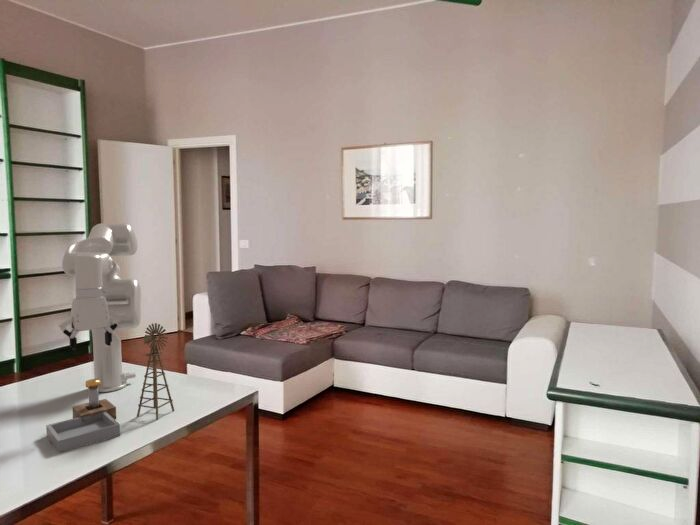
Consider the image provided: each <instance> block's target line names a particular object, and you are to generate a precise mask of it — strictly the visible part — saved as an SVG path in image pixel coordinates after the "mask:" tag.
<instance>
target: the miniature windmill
mask: <svg viewBox="0 0 700 525" xmlns="http://www.w3.org/2000/svg"><path fill="white" fill-rule="evenodd" d="M163 328H164V326H163V325H161V324H160V323H155V322H154V323H151V324H149V325H148V327H146V330H145V335H144V337H143V344H144V345H145V344H147V345H149V348H150V352H149V353H145V354H144V355H145V356H146V357H148V360H146V362H147V366H146V372H145V374H144V375H143V376H144V379H143V380H144V381H143V385H142V388H141V393H140V396H139V404H137V406H138V410H137V414H136V417H137V418H138V417H139V416H140V413H141V408H142V407H144V408H148V409H155V420H156V421H157V420H159V409H160V408H161V407H164V406H165V405H167V404H170V407H171V411H172V412H174V411H175V408H174V407H175V406H174V403H173V401H174V400H173V399H172V396H171V393H170V388H169V385H168V381H167V379H166V372H165V371H164V367H163V364H162V362H163V361H162V359H161V356H160V355H162V354H164V353H165V351H164V350H163V349H164V347H166V346H167V345H166V344H168V341H167V340H168V339H169V338H168V333H167V332H166V331H167V330H166V329H165V328H164V329H163ZM157 338H158V339H157ZM165 339H166V340H165ZM165 343H166V344H165ZM161 350H163V351H161ZM157 357H158V359H157ZM150 364H152V368H151V367H150ZM157 364H159V366H160V370H161V371H158V366H157ZM149 370H151V372H149ZM151 374H152V376H149V375H151ZM161 376H162V377H163V380H164V383H163V384H161V383H158V377H161ZM148 379H152V383H147V380H148ZM158 386H163V387H161V388H158ZM149 387H152V389H153V391H152V390H145V389H147V388H149ZM164 389H166V393H167V397H168V398H164V397H159V396H158V392H160V391H161V390H164ZM144 393H151V394H153V396H152V398H151V397H145V396H144V395H145V394H144ZM143 399H144V400H145V401H144V402H143ZM158 400H164V401H167V402H164V403H163V404H161V405H159V403H158V402H159V401H158ZM150 401H153V406H150V405H143V404H146V403H148V402H150Z"/></svg>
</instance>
